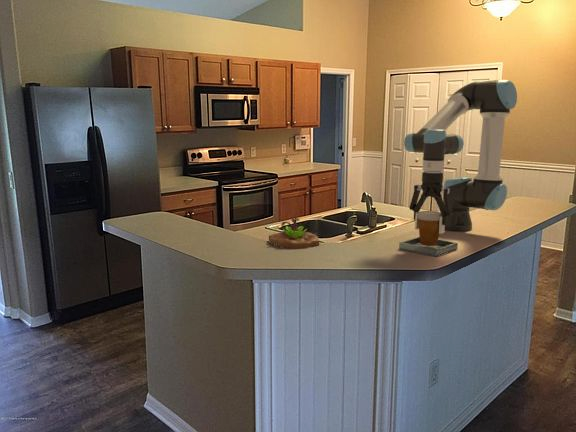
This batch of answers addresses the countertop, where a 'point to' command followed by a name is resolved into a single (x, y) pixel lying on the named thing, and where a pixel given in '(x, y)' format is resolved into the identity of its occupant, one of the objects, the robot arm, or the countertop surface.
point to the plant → (294, 237)
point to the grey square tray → (428, 247)
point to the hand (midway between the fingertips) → (429, 230)
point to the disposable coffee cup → (429, 227)
